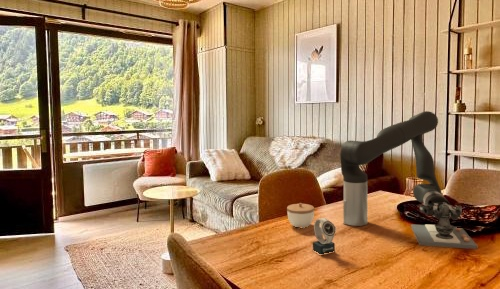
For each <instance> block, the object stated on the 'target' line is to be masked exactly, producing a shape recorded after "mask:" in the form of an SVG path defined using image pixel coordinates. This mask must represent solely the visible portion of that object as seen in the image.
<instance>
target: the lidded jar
mask: <svg viewBox="0 0 500 289" xmlns="http://www.w3.org/2000/svg"><path fill="white" fill-rule="evenodd" d="M286 212H287V218H288V221H289V223H290V225H292V226H295V227H302V228H303V229H305V228H304V227H307V228H309V227H308V226H310V225H311V224H312V223H313V220H314V215H315V207H314V206H313V205H311V204H308V203H302V202H299V203H293V204H289V205H287V207H286ZM295 227H294V228H295Z"/></svg>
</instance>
